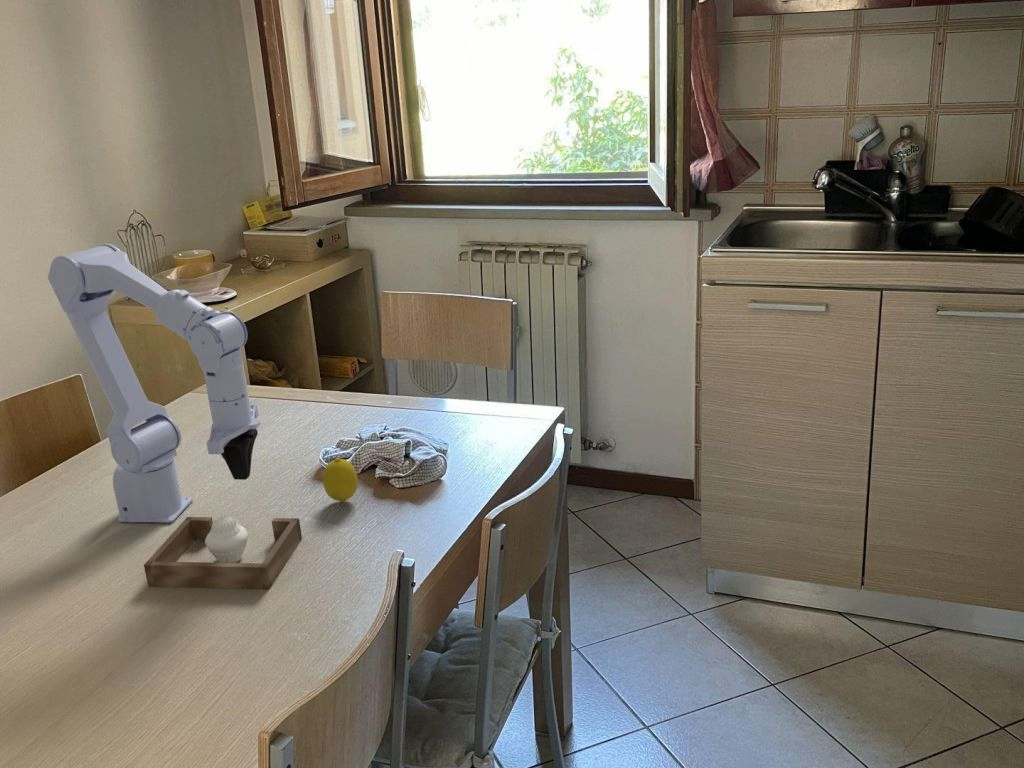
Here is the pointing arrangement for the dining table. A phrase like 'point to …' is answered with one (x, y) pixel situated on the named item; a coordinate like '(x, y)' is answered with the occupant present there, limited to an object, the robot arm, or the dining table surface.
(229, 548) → the muffin
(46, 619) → the dining table surface
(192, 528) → the brown wooden u-shaped frame
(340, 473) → the lemon
